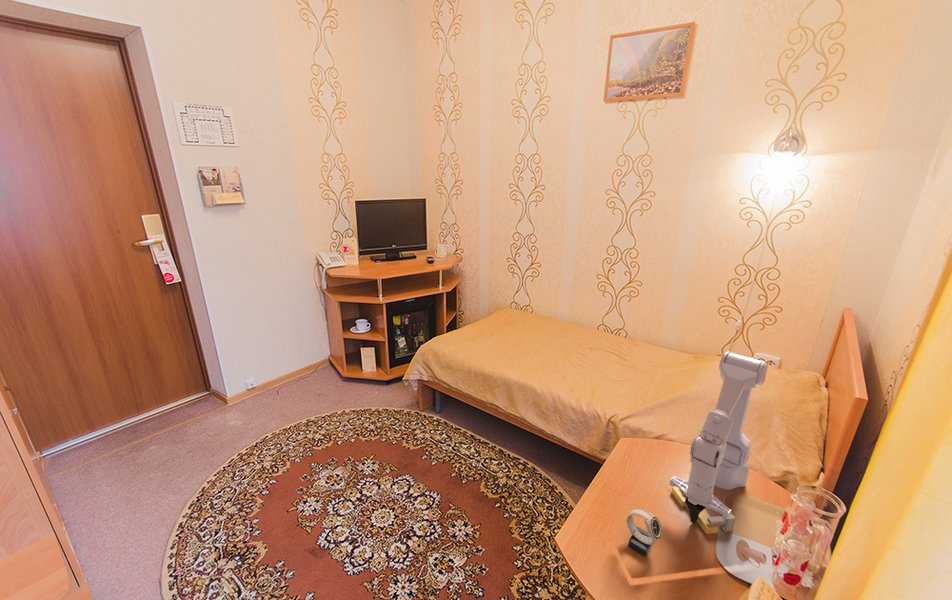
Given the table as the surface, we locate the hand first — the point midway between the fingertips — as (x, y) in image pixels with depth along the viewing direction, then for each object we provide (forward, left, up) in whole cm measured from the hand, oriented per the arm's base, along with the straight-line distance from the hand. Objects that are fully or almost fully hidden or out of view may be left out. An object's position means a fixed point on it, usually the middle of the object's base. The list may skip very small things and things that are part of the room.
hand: (694, 520), depth 104 cm
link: (-3, -4, -1) cm, 5 cm away
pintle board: (0, -5, -2) cm, 5 cm away
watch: (+17, +4, -2) cm, 18 cm away
